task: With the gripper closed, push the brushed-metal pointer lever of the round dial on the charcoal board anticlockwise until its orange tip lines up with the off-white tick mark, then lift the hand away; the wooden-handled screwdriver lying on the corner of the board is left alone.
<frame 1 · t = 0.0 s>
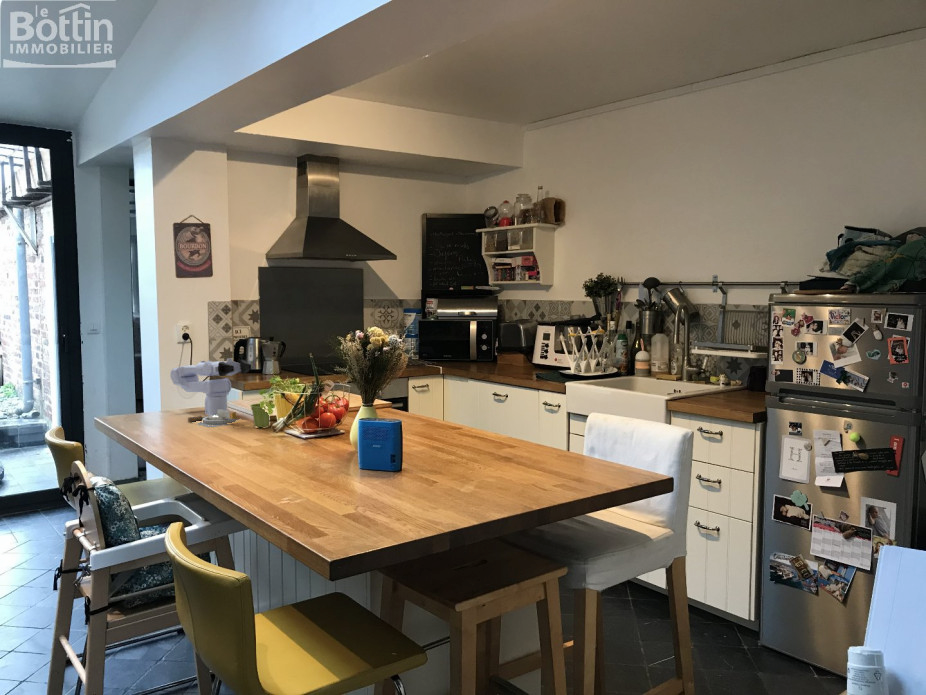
hand: (241, 367, 294), 22 cm above the counter, tool horizontal, fingers open, 7 cm apart
plant pot: (263, 427, 284), on the counter
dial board: (219, 423, 293), on the counter
dial: (223, 416, 290), point 3 cm above the counter, hinge at 0.0°
screwdriver: (203, 420, 295), point 1 cm above the counter, touching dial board
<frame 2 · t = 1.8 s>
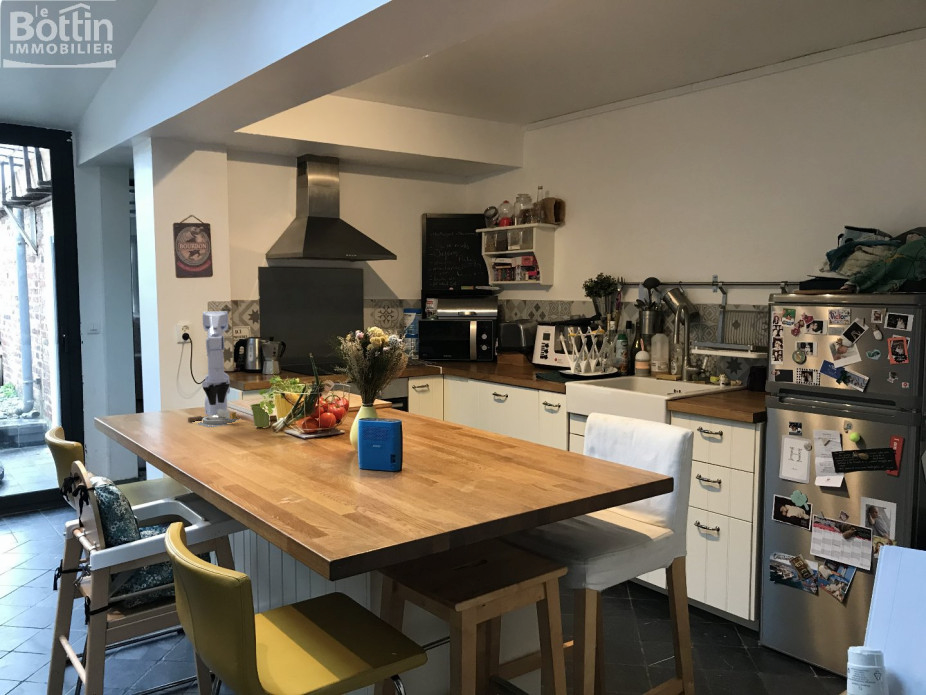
hand: (216, 403, 282), 9 cm above the counter, tool pointing down, fingers open, 5 cm apart
nothing on the counter moved.
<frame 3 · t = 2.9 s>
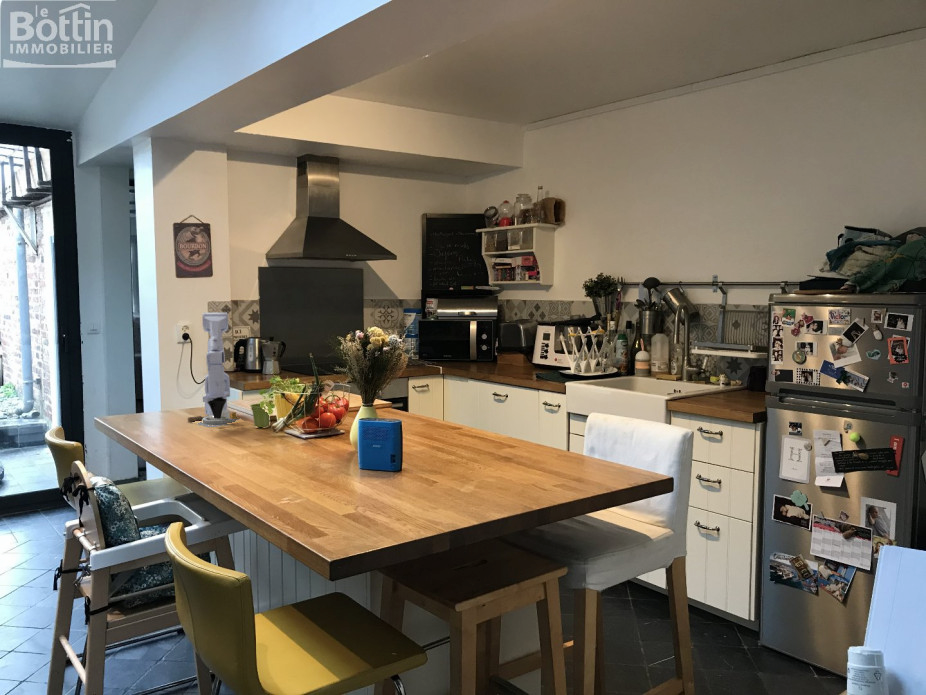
hand: (217, 418, 282), 4 cm above the counter, tool pointing down, fingers closed
nothing on the counter moved.
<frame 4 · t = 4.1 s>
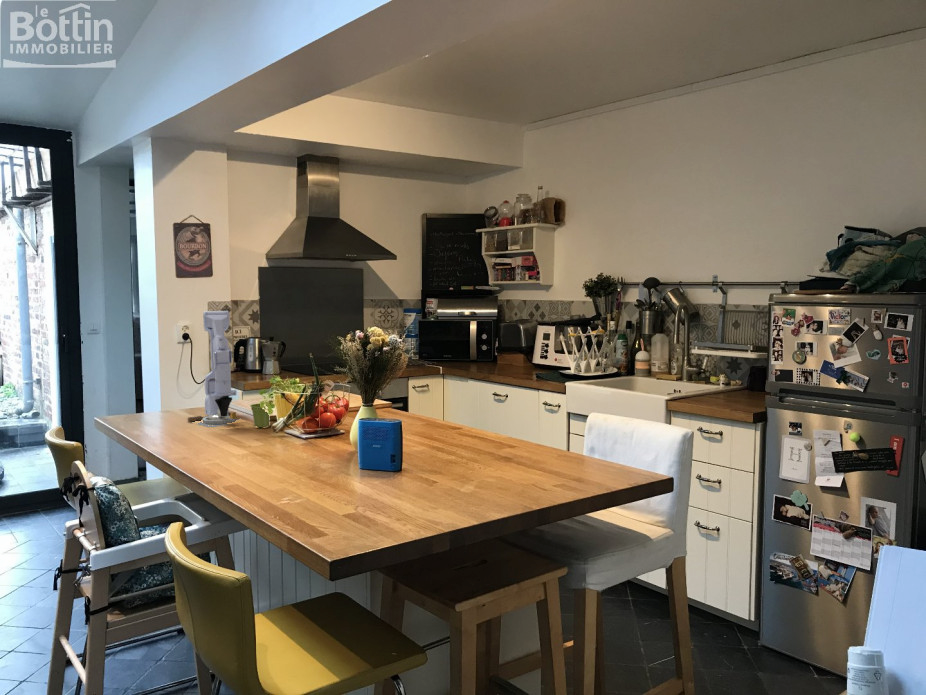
hand: (223, 416, 286), 4 cm above the counter, tool pointing down, fingers closed, pressing on dial
dial: (223, 416, 290), point 3 cm above the counter, hinge at 0.1°, touching gripper
everything else where it was.
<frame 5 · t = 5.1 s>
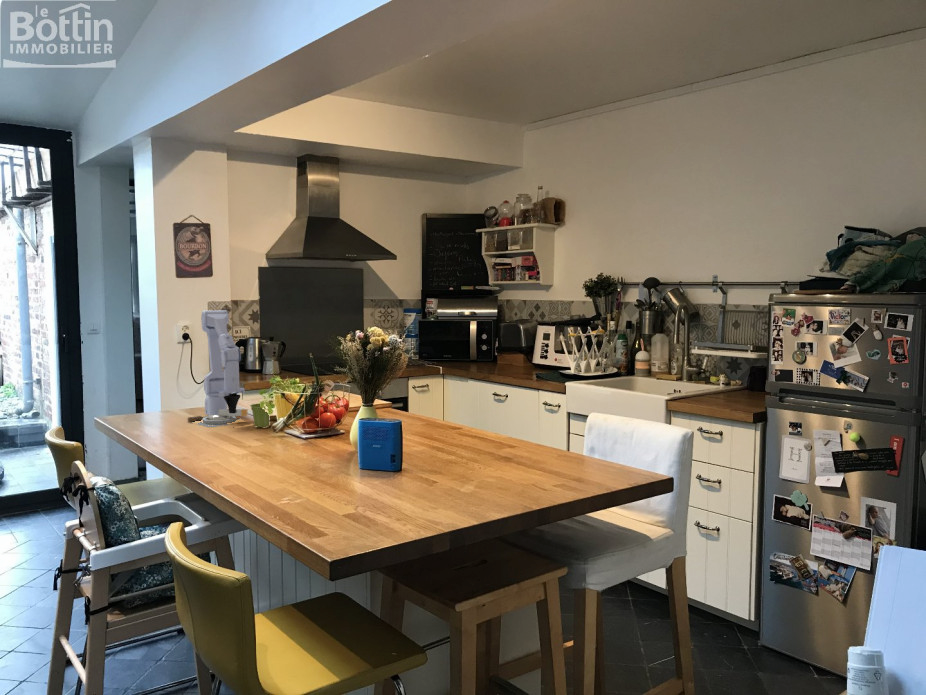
hand: (232, 413, 291), 4 cm above the counter, tool pointing down, fingers closed, pressing on dial
dial: (228, 415, 292), point 3 cm above the counter, hinge at 41.3°, touching gripper
everything else where it was.
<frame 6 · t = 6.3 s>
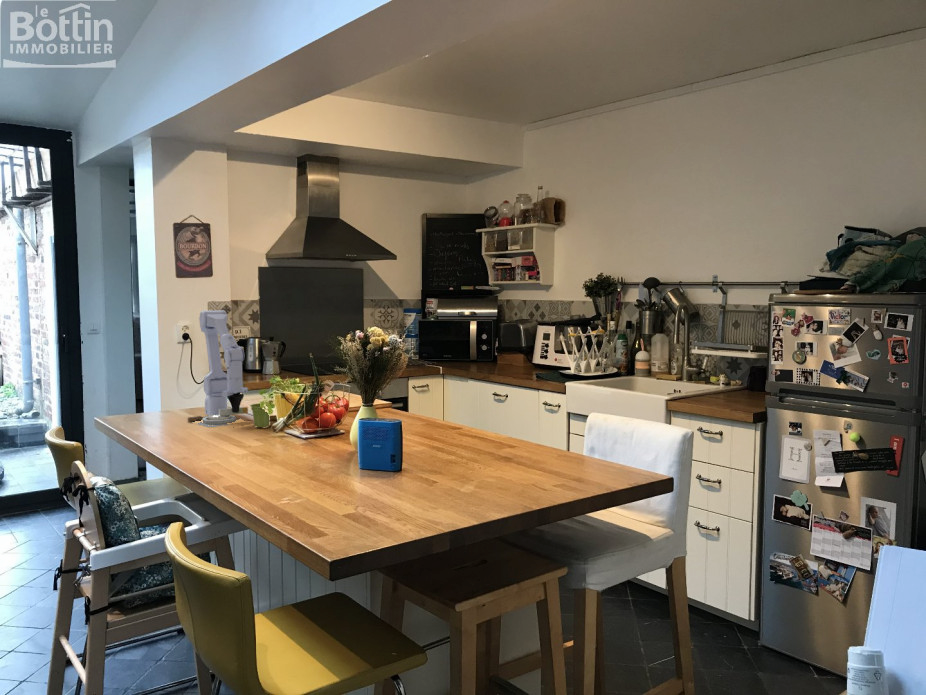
hand: (235, 412, 294), 4 cm above the counter, tool pointing down, fingers closed, pressing on dial
dial: (228, 414, 294), point 3 cm above the counter, hinge at 73.7°, touching gripper
everything else where it was.
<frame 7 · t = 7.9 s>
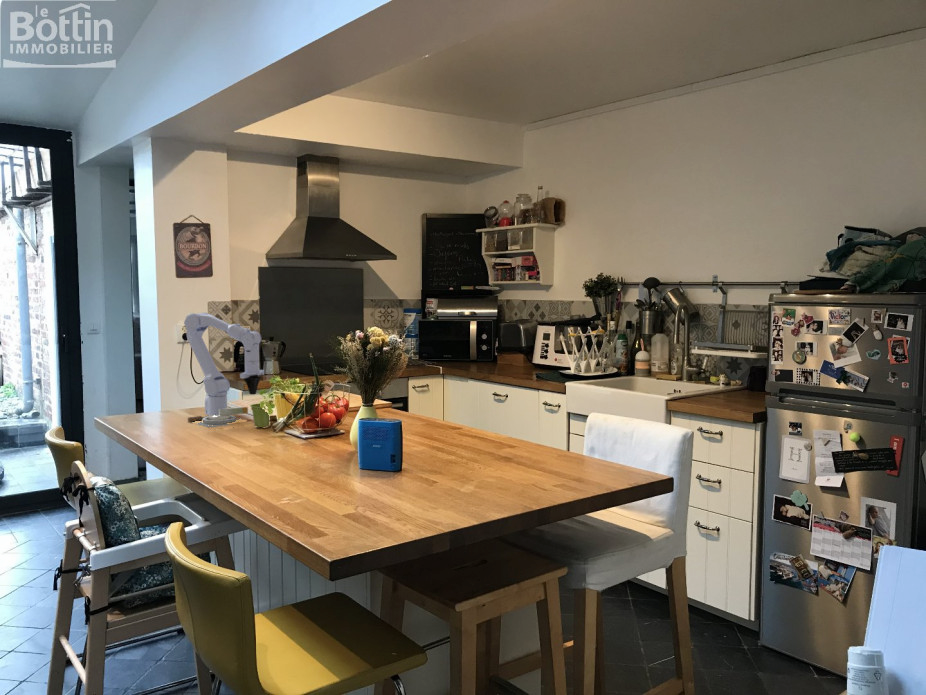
hand: (252, 394, 304), 10 cm above the counter, tool pointing down, fingers closed
dial: (228, 414, 294), point 3 cm above the counter, hinge at 74.1°
everything else where it was.
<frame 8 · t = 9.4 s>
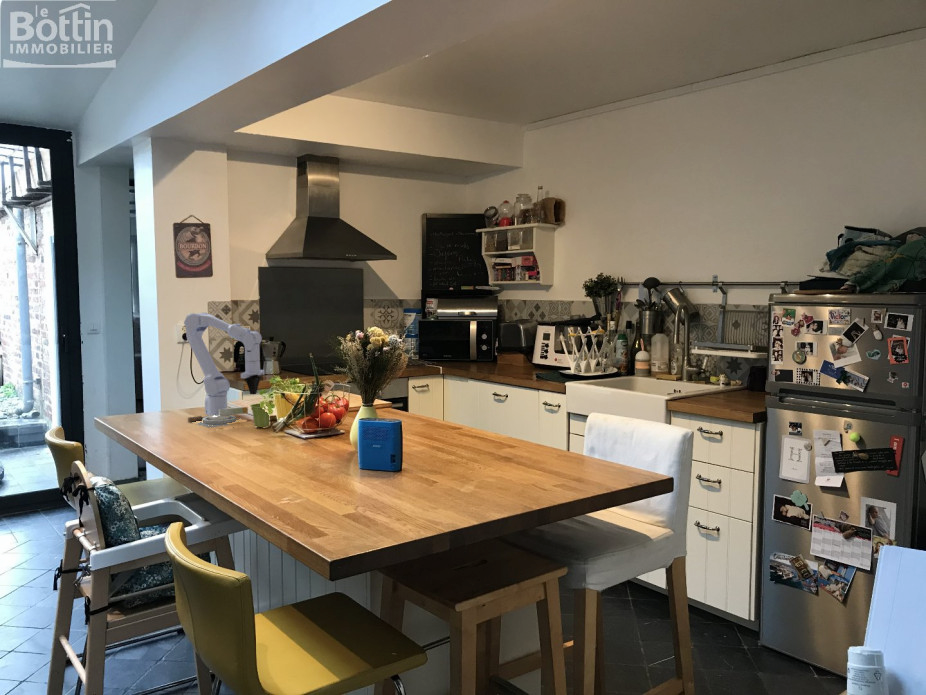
hand: (253, 394, 304), 10 cm above the counter, tool pointing down, fingers closed
nothing on the counter moved.
at the end: dial at +74° (first picture: +0°); screwdriver moved 0.0 cm from its start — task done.
